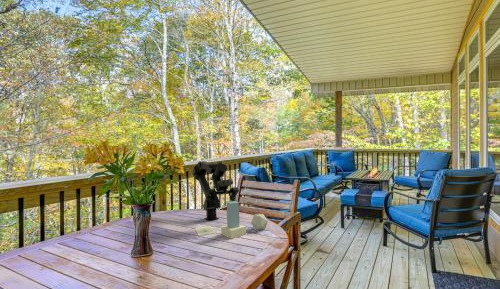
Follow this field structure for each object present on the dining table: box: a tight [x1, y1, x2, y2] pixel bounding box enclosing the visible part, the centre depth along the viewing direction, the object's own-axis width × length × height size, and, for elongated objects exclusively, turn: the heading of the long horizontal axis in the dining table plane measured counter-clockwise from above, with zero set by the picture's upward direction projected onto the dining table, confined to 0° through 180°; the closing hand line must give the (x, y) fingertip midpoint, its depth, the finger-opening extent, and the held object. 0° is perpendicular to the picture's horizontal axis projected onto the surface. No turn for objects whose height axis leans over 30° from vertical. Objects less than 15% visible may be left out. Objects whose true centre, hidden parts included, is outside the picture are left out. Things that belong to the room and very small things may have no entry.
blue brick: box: [226, 200, 241, 228], centre depth 149 cm, size 4×5×12 cm
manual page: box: [194, 225, 217, 236], centre depth 156 cm, size 12×9×1 cm
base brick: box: [220, 223, 247, 240], centre depth 149 cm, size 9×9×4 cm
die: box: [250, 213, 269, 231], centre depth 156 cm, size 8×9×10 cm
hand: (227, 206), depth 157 cm, fingers open, 9 cm apart
